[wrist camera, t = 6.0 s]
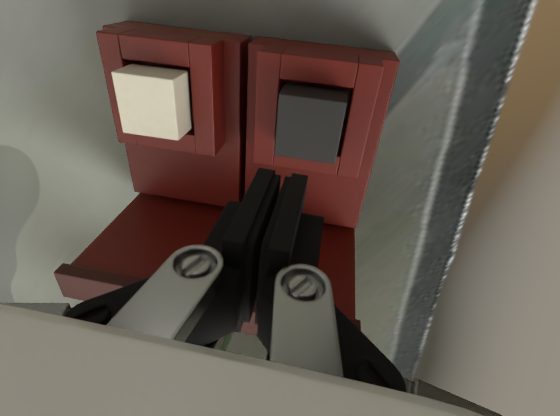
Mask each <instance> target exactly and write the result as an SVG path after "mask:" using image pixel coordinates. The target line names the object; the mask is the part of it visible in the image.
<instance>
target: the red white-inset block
mask: <svg viewBox="0 0 560 416" xmlns="http://www.w3.org/2000/svg"><path fill="white" fill-rule="evenodd" d="M96 34H97V39H98V44H99V48H100V53H101V58H102V63H103V68H104V73H105V78H106V82H107V87H108V92H109V97H110V102H111V107H112V112H113V116H114V121H115V126H116V131H117V136H118V141H119V142H121V143H125V145H126V150H127V156H128V161H129V166H130V171H131V176H132V181H133V186H134V191H135V192H140V193H146V194H152V195H158V196H164V197H170V198H176V199H182V200H188V201H194V202H200V203H206V204H212V205H218V206H224V207H225V206H226V204H227V202H228V201H230V200H231V201H237V202H242V200H243V198H244V196H245V167H246V123H247V79H248V44H249V43H250V42H251V36H250V35H243V34H234V33H225V32H217V31H208V30H199V29H191V28H182V27H173V26H165V25H156V24H147V23H139V22H130V21H124V22H119V23H114V24H109V25H104V26H103V30H101V31H97V32H96ZM130 64H139V65H146V66H154V67H162V68H170V69H178V70H185V71H188V81H189V95H190V108H191V122H192V128H191V129H190V130H189V131H188V132H187V133H186V134H185V135H184V136H183V137H182V138H181V139H180V140H178V141H177V140H170V139H163V138H157V137H150V136H143V135H137V134H130V133H124V132H123V130H122V125H121V119H120V114H119V109H118V104H117V99H116V94H115V89H114V84H113V78H112V71H115V70H117V69H120V68H122V67H125V66H127V65H130Z"/></svg>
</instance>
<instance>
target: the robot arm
mask: <svg viewBox="0 0 560 416" xmlns="http://www.w3.org/2000/svg"><path fill="white" fill-rule="evenodd" d="M275 174H276V173H275V170H271V169H265V168H259V169H258V170H257V172H256V174H255V176H254V178H253V180H252V182H251V184H250V186H249V188H248V190H247V192H246V194H245V196H244V198H243V200H242V202H237V201H231V200H230V201H228V202H227V204H226V206H225V207H224V209H223V211H222V213H221V214H220V216H219V218H218V220H217V221H216V223H215V225H214V227H213V228H212V230H211V232H210V234H209V235H208V237H207V239H206V241H205V242H204V244H203V245H190V246H185V247H183V248H181V249H178V250H177V251H175V252H174V253H173V254H172V255H171V256H170V257H169V258H168V259H167V260H166V261H165V262H164V263H163V264H162V265H161V266H160V268H159V269H158V270H157V271H156V272H155V273H154V274H153V275H152V276H151V277H149V278H147V279H144V280H141V281H138V282H136V283H133V284H130V285H127V286H124V287H122V288H119V289H116V290H113V291H111V292H108V293H105V294H102V295H99V296H97V297H94V298H91V299H88V300H86V301H84V302H82V303H80V304H77V305H76V306H75V307H73V308H71V307H70V305H69V303H0V416H502V415H500V414H498V413H496V412H493V411H491V410H489V409H486V408H484V407H482V406H480V405H477V404H475V403H473V402H470V401H468V400H465V399H463V398H461V397H459V396H456V395H454V394H451V393H449V392H447V391H445V390H442V389H440V388H438V387H435V386H433V385H431V384H428V383H426V382H424V381H421V380H419V379H417V378H415V379H414V381H413V382H412V381H410V380H408V379H405V378H403V377H402V375H401V374H400V372H399V371H398V370H397V368H396V367H395V366H394V365H393V364H392V363H391V362H390V361H389V360H388V359H387V358H386V357H385V356H384V354H383V353H382V352H381V351H380V350H379V349H378V348H377V347H376V346H375V345H374V344H373V343H372V342H371V341H370V340H369V339H368V338H367V337H366V336H365V335H364V334H363V333H362V332H361V331H360V330H359V329H358V328H357V327H356V326H355V325H354V324H353V323H352V322H351V321H350V320H349V319H348V318H347V317H346V316H345V315H344V314H343V313H342V312H341V311H340V310H339V309H338V308H337V307H336V306H335V305H334V300H333V292H332V285H331V282H330V279H329V278H328V277H327V275H326V274H325V273H324V272H322V271H321V270H320V269H318V265H319V256H320V248H321V240H322V232H323V224H324V217H322V216H317V215H311V214H305V213H303V208H304V201H305V195H306V188H307V182H308V176H307V175H301V174H295V173H292V175H291V177H287V176H285V178H284V181H283V184H282V187H281V190H280V181H281V175H275ZM279 191H280V193H279ZM255 304H256V311H255V324H257V325H258V328H257V337H258V338H259V339H260V341H261V342H262V344H263V345H264V346H265V348H266V349H267V354H266V360H262V359H258V358H253V357H249V356H244V355H240V354H235V353H231V352H226V351H221V350H220V348H221V346H222V344H223V341H224V336H226V335H228V334H230V333H232V332H234V331H236V332H240V331H241V328H242V325H243V322H247V323H250V320H251V317H252V314H253V311H254V307H255Z"/></svg>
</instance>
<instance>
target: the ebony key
mask: <svg viewBox="0 0 560 416" xmlns="http://www.w3.org/2000/svg"><path fill="white" fill-rule="evenodd" d="M346 106H347V91H342V90H334V89H326V88H319V87H311V86H303V85H295V84H287V83H286V84H285V85H284V87H283V88H282V90H281V92H280V93H279V98H278V111H277V124H276V138H275V151H274V154H275V155H277V156H284V157H291V158H297V159H304V160H311V161H318V162H324V163H331V164H335V163H336V158H337V153H338V148H339V143H340V137H341V132H342V127H343V122H344V116H345V111H346Z"/></svg>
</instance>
